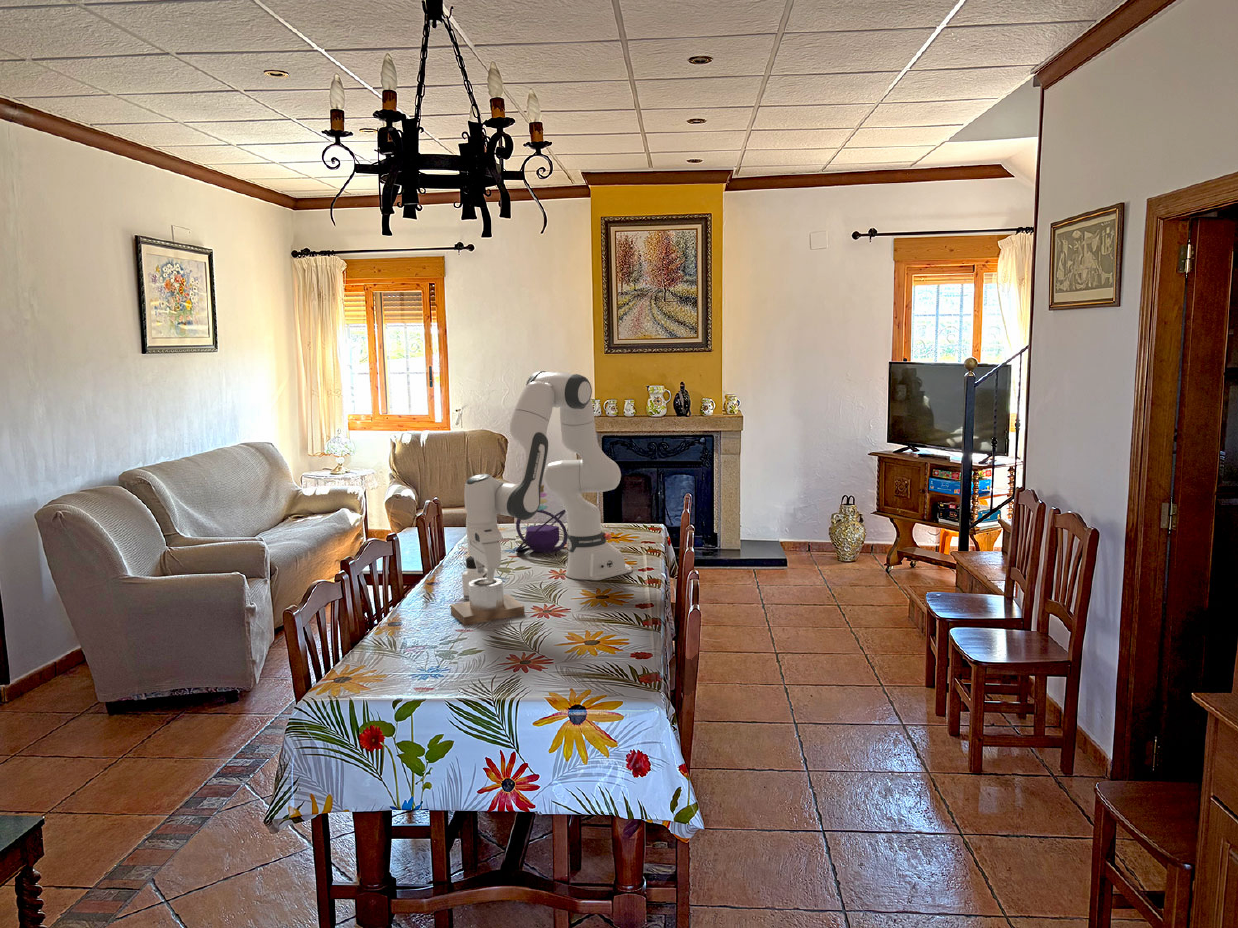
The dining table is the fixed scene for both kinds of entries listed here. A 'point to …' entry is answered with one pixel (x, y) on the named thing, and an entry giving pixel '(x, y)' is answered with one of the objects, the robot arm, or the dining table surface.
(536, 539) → the decorative bottle
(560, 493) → the robot arm
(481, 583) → the gray white-topped cylinder
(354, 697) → the dining table surface
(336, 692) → the dining table surface
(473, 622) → the mounting block
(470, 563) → the medicine bottle
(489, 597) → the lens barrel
